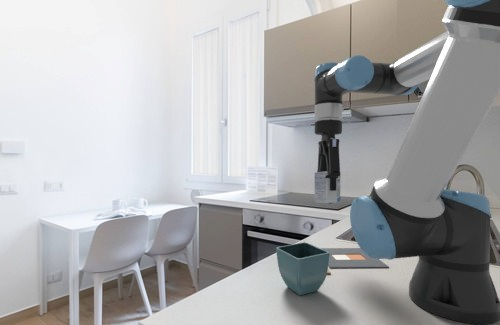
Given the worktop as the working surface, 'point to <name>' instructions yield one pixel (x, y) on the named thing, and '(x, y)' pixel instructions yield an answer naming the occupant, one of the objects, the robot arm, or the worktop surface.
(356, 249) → the mat
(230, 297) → the worktop surface
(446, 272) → the robot arm
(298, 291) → the flower pot
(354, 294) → the worktop surface
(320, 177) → the medicine box
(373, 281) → the worktop surface
